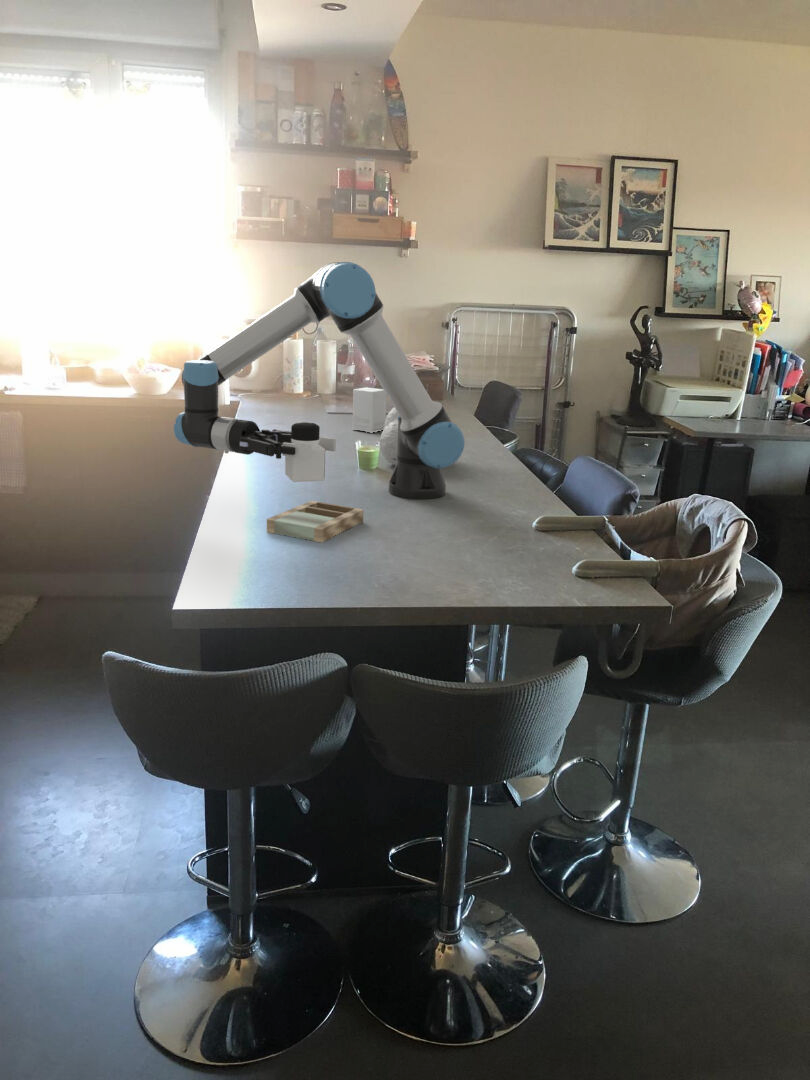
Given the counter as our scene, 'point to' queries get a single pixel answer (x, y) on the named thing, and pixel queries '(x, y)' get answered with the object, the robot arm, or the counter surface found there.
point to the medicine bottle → (306, 467)
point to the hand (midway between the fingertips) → (322, 448)
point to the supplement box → (369, 409)
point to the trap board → (315, 521)
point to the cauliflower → (390, 437)
